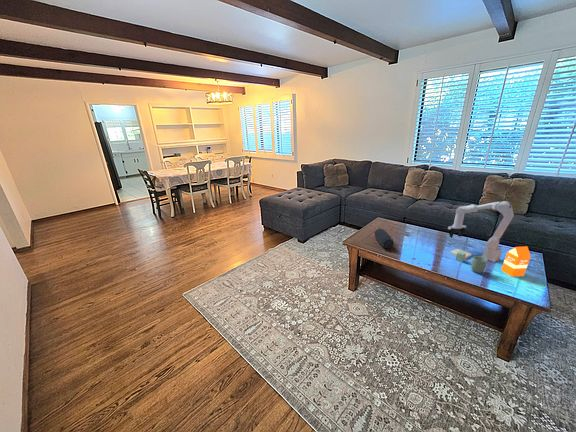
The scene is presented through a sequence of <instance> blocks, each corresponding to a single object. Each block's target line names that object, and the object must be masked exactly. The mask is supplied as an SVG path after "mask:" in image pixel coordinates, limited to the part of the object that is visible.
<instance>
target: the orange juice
mask: <svg viewBox="0 0 576 432" xmlns="http://www.w3.org/2000/svg"><path fill="white" fill-rule="evenodd" d="M530 259H531V254H530V250H529V247H528V246H524V245H523V246H515V247H513V248H512V249H510V250H507V252H506V255H505V258H504V260H503V264H502V266H501V271H502V272H503V273H505V274H507V275H508V276H510V277H524V276H525V273H526V270H527V268H528V265H529V263H530Z"/></svg>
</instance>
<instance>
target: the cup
mask: <svg viewBox="0 0 576 432" xmlns="http://www.w3.org/2000/svg"><path fill="white" fill-rule="evenodd" d="M471 260H472V261H471V264H470V265H471V266H470V267H471V271H473V272H474V273H477V274H481V273H484V271H485V270H486V268H487V264H488V261H489V260H488V259H486V258H484V257H481V255H475V256H473V257H472V259H471Z"/></svg>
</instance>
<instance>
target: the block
mask: <svg viewBox="0 0 576 432" xmlns="http://www.w3.org/2000/svg"><path fill="white" fill-rule="evenodd" d="M465 255H466V253H463V252H458V253H457V256H455V261H457V262H460V263H462V262H464V261H465V260H466V259H465Z"/></svg>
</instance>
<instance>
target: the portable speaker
mask: <svg viewBox="0 0 576 432" xmlns="http://www.w3.org/2000/svg"><path fill="white" fill-rule="evenodd" d="M374 237H375V238H376V240H377V241H378V242H379V244H380V245H381V246H382V247H383V248H385V249H390V248H392V247H393V246H394V239H393V238H392V237H391V235H390V234H389V233H388V232H387V231H386V230H385V229H383V228H378V229H376V230H375V231H374Z"/></svg>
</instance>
